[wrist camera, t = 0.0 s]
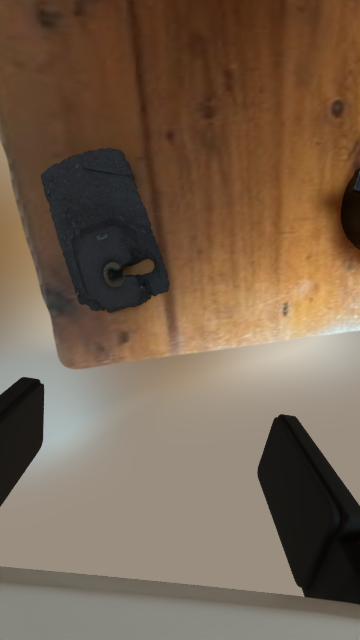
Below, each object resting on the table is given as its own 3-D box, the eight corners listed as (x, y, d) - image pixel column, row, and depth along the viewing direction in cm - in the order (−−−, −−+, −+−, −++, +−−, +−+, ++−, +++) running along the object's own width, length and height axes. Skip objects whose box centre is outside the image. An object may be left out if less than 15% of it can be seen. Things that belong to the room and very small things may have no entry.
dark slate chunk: (139, 144, 34) (134, 128, 29) (172, 296, 40) (172, 302, 35) (35, 169, 34) (14, 156, 30) (83, 314, 40) (71, 323, 36)
